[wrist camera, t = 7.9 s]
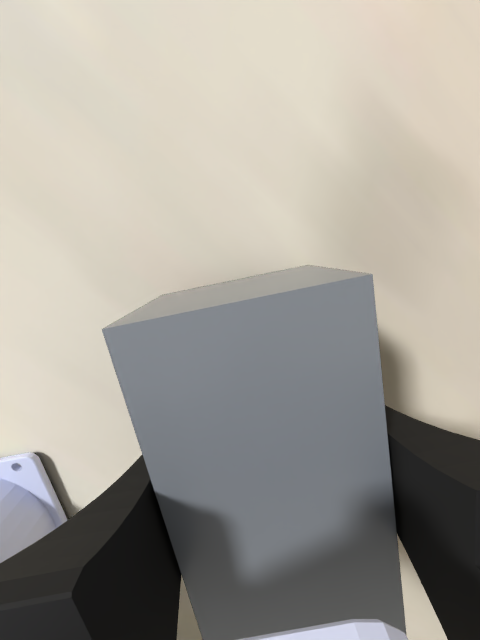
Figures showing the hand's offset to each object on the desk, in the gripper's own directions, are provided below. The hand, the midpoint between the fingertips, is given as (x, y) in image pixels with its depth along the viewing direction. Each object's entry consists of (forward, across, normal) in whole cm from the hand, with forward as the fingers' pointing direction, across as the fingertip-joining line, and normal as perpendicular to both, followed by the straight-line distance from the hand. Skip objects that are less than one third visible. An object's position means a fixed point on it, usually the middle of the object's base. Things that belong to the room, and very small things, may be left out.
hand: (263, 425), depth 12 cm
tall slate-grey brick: (+1, 0, 0) cm, 1 cm away
